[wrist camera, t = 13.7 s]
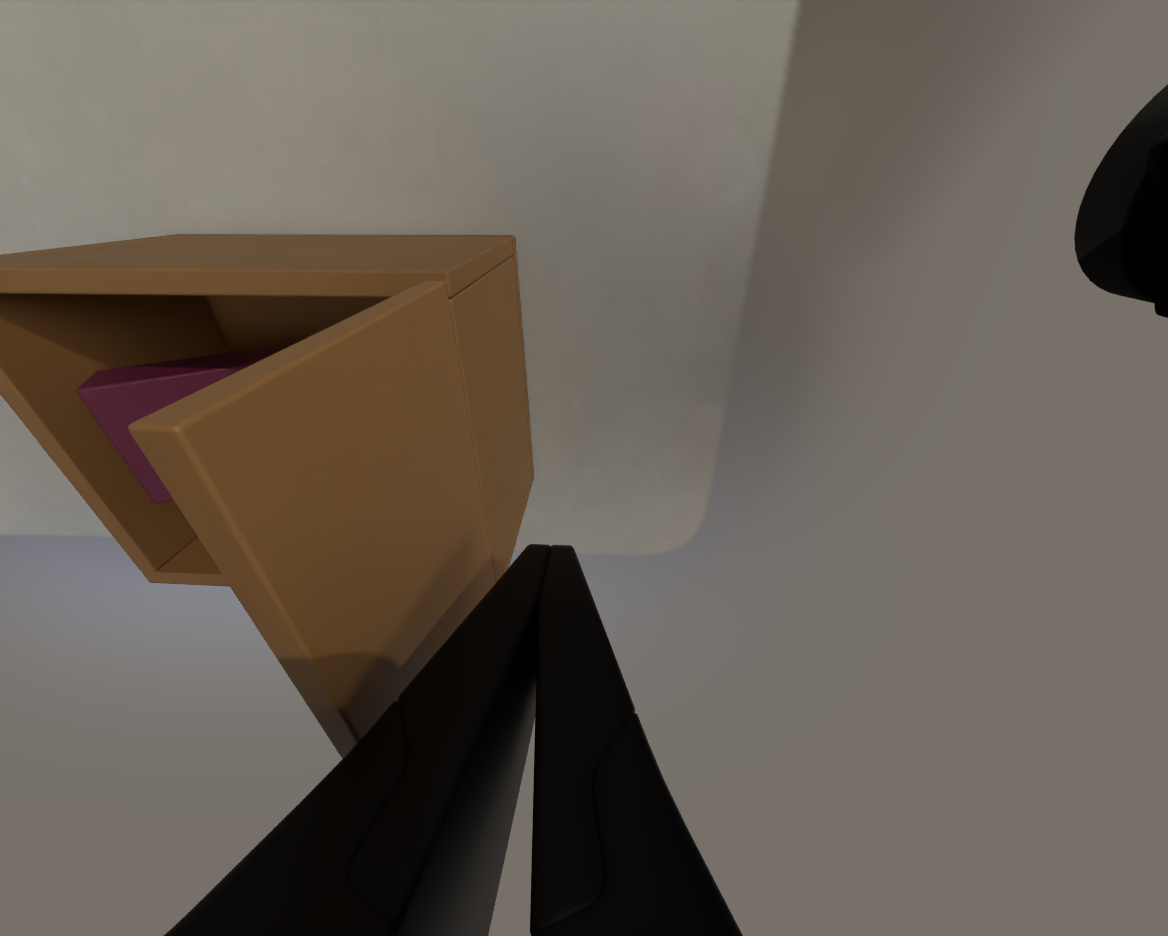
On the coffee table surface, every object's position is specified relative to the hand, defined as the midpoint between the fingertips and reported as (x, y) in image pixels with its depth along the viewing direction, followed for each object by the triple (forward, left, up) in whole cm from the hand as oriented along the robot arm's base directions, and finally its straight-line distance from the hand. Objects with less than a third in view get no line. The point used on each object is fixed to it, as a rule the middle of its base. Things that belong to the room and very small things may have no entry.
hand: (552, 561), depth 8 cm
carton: (+4, +6, -9) cm, 12 cm away
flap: (+1, +2, +1) cm, 2 cm away
